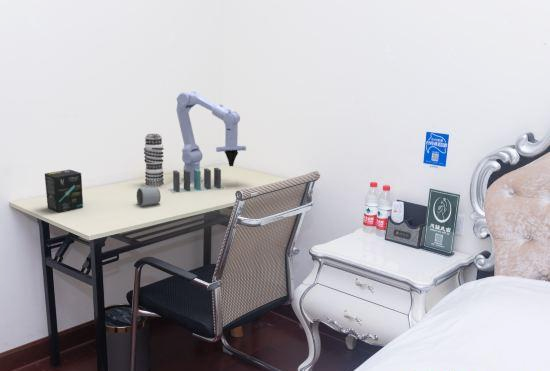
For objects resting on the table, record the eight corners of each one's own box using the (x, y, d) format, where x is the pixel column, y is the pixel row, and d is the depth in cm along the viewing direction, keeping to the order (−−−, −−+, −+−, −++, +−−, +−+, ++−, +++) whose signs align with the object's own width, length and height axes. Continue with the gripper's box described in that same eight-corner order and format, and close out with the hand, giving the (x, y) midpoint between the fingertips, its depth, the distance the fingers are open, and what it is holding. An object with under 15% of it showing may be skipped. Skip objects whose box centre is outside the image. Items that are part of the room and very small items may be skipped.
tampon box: (71, 203, 218) (69, 168, 215) (84, 207, 213) (82, 172, 209) (46, 208, 210) (43, 172, 207) (58, 213, 204) (55, 176, 201)
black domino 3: (207, 189, 246) (207, 170, 244) (204, 186, 250) (204, 168, 248) (210, 189, 247) (210, 170, 245) (207, 186, 251) (207, 168, 249)
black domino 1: (176, 192, 240) (176, 172, 237) (173, 189, 244) (173, 170, 242) (179, 191, 240) (179, 172, 238) (176, 189, 245) (176, 170, 242)
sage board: (167, 189, 244) (167, 189, 244) (220, 185, 256) (220, 184, 256) (172, 194, 237) (172, 193, 237) (226, 189, 249) (226, 188, 249)
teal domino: (197, 190, 244) (197, 171, 242) (194, 187, 248) (193, 169, 246) (200, 189, 245) (200, 171, 242) (197, 187, 249) (197, 169, 247)
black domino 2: (186, 191, 242) (186, 172, 240) (183, 188, 246) (183, 169, 244) (190, 190, 242) (190, 171, 240) (187, 188, 247) (186, 169, 245)
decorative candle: (166, 184, 255) (166, 133, 249) (161, 189, 246) (159, 136, 240) (148, 183, 255) (147, 132, 249) (142, 187, 246) (140, 135, 240)
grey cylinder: (161, 205, 219) (161, 187, 217) (143, 208, 214) (142, 190, 213) (151, 200, 227) (150, 182, 226) (133, 202, 223) (132, 185, 221)
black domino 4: (217, 188, 248) (217, 170, 246) (214, 186, 253) (214, 167, 250) (220, 188, 249) (220, 169, 247) (217, 185, 253) (217, 167, 251)
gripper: (219, 139, 242) (219, 168, 245) (248, 138, 248) (248, 166, 251) (214, 137, 248) (214, 165, 251) (243, 136, 254) (242, 163, 257)
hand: (231, 165), depth 251 cm, fingers closed
